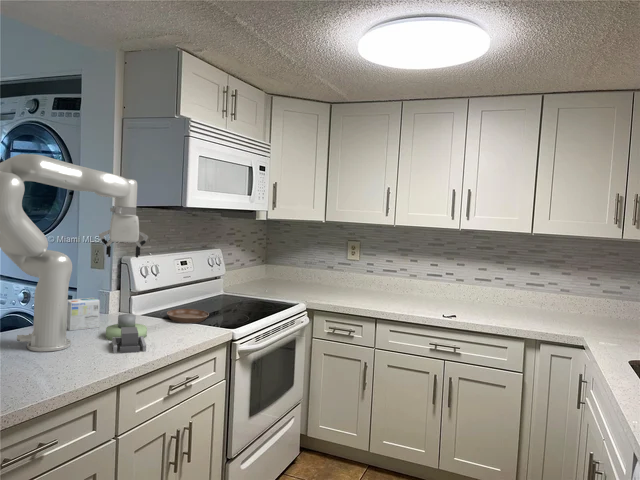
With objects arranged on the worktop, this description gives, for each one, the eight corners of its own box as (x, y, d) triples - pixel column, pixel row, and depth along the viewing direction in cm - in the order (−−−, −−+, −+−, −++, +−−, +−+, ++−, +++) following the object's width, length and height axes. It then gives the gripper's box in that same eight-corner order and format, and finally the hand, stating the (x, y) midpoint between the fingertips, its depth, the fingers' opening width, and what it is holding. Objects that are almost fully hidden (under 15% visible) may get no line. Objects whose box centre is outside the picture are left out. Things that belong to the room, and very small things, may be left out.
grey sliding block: (119, 353, 152) (120, 335, 152) (118, 344, 161) (119, 327, 161) (139, 352, 155) (140, 334, 154) (137, 343, 164) (138, 326, 163)
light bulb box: (93, 323, 184) (94, 296, 184) (99, 327, 180) (100, 300, 179) (63, 327, 177) (64, 299, 176) (69, 331, 172) (70, 302, 171)
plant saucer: (196, 313, 215) (197, 307, 215) (216, 322, 202) (216, 315, 202) (159, 317, 203) (160, 310, 203) (177, 326, 190) (178, 319, 190)
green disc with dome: (106, 353, 151) (107, 332, 150) (105, 331, 175) (106, 313, 174) (152, 350, 157) (153, 330, 156) (144, 330, 181) (145, 312, 180)
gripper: (100, 210, 168) (97, 257, 169) (150, 213, 175) (148, 258, 176) (99, 209, 174) (97, 255, 175) (148, 212, 182) (146, 256, 183)
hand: (123, 257), depth 176 cm, fingers open, 9 cm apart
